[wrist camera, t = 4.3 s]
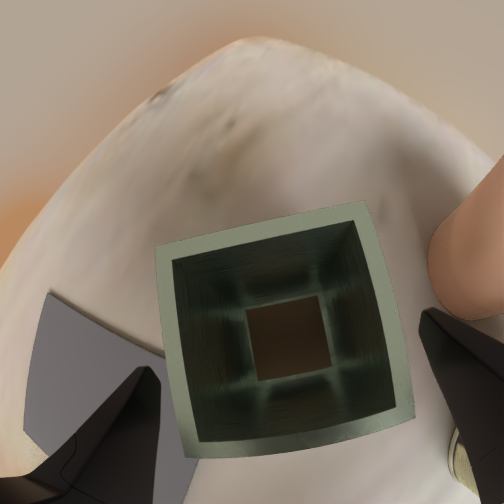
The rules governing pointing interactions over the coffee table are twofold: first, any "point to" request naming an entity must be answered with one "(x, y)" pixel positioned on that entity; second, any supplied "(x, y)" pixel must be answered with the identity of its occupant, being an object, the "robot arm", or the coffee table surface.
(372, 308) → the tin
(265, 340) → the walnut block
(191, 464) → the mat
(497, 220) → the pink rounded cylinder
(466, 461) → the coffee can
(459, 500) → the coffee table surface
